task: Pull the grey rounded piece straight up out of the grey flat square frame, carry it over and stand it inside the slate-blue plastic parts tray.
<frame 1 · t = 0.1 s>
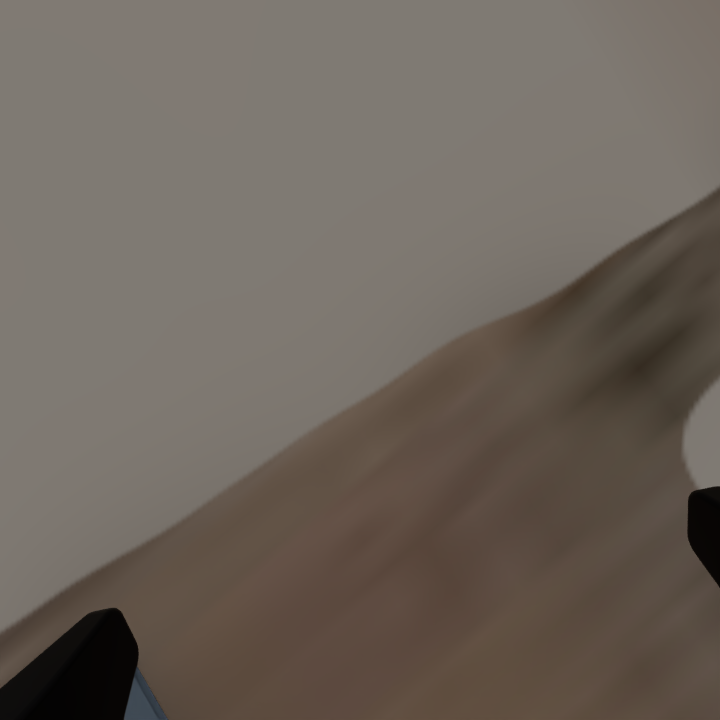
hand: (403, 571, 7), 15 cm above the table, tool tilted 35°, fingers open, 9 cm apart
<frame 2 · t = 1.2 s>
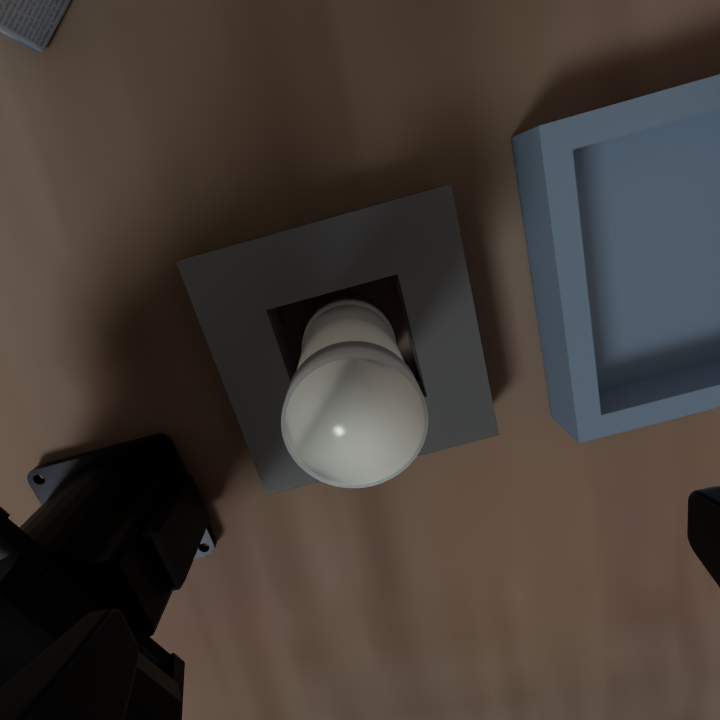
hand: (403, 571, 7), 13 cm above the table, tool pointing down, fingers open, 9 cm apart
grey flat square frame: (348, 340, 19), on the table
parts tray: (651, 258, 19), on the table
grey rounded piece: (351, 372, 16), in the grey flat square frame
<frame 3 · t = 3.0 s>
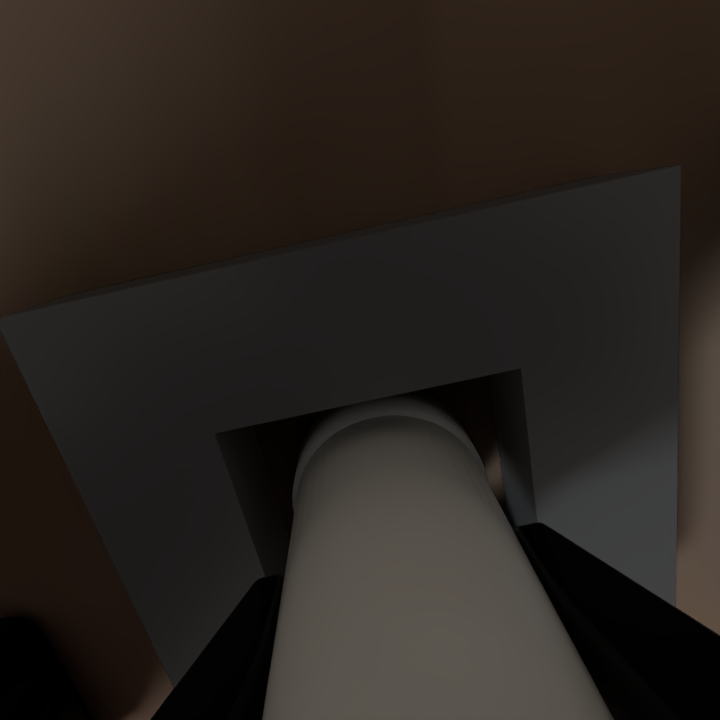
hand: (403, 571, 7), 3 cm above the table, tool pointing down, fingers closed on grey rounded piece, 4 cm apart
grey flat square frame: (384, 467, 10), on the table
grey rounded piece: (411, 625, 6), in the grey flat square frame, touching gripper
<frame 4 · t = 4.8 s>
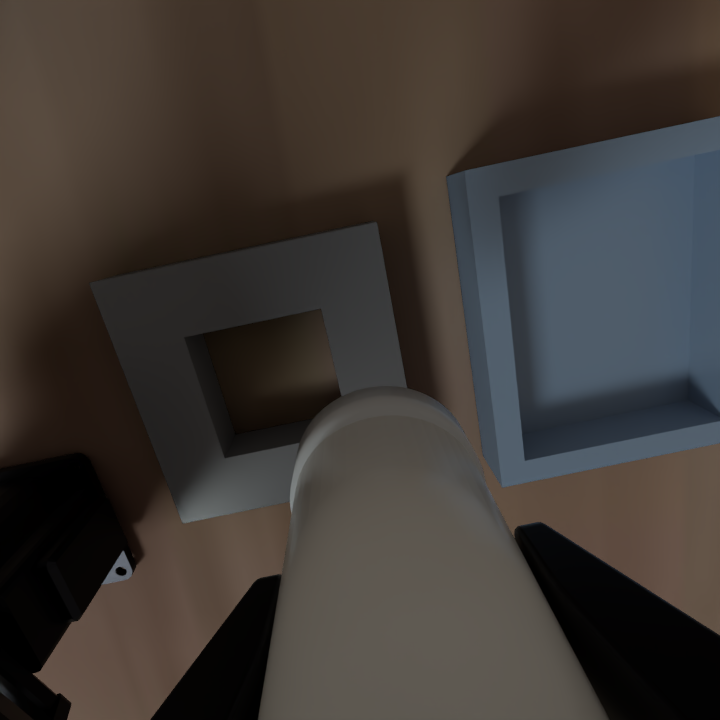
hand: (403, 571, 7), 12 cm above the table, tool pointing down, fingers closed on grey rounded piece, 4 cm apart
grey flat square frame: (277, 369, 19), on the table
parts tray: (585, 305, 19), on the table
grey rounded piece: (408, 625, 6), point 13 cm above the table, touching gripper
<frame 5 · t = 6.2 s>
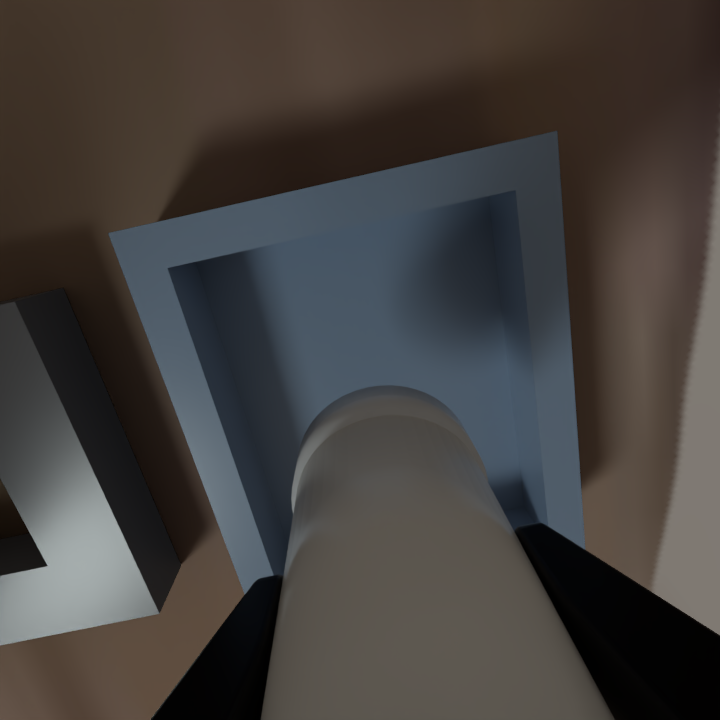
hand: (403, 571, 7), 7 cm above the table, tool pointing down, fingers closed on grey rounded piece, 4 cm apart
parts tray: (375, 389, 14), on the table
grey rounded piece: (411, 626, 6), point 8 cm above the table, touching gripper
when the fingers open (5 cm above the table, at t = 6.9 s): grey rounded piece drops 1 cm, resting on parts tray.
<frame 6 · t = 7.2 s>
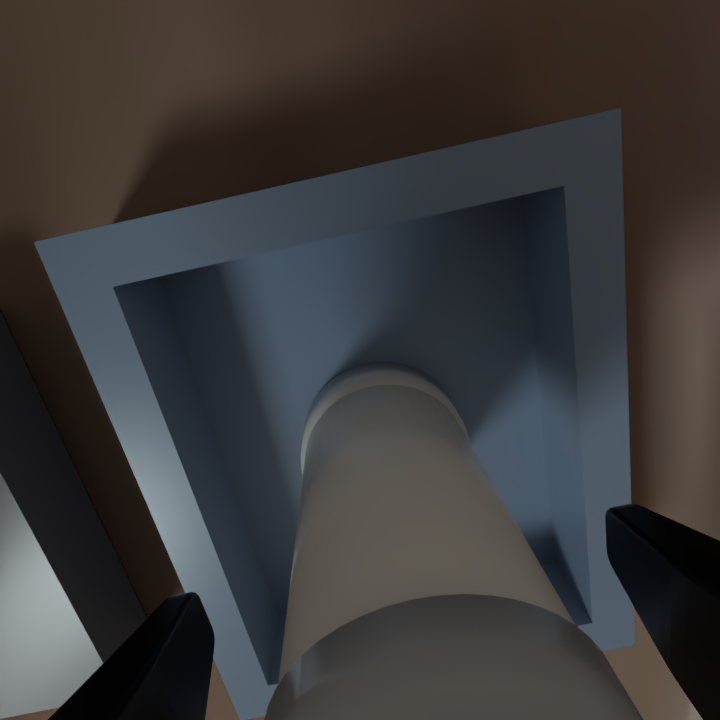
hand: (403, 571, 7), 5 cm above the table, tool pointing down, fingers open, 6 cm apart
parts tray: (379, 426, 12), on the table
grey rounded piece: (404, 548, 8), in the parts tray
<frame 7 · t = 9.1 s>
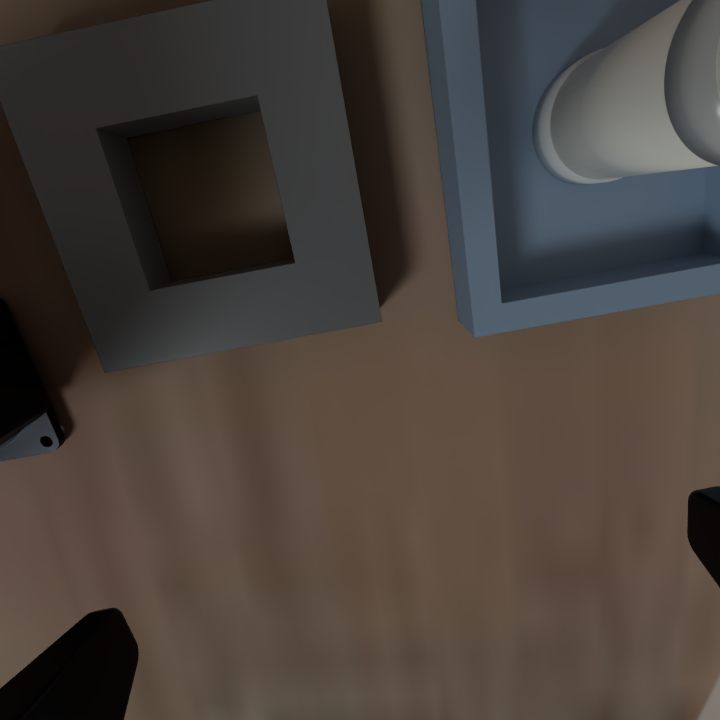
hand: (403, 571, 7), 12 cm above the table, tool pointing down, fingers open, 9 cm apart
grey flat square frame: (217, 200, 16), on the table
parts tray: (582, 128, 16), on the table
grey rounded piece: (667, 96, 11), in the parts tray
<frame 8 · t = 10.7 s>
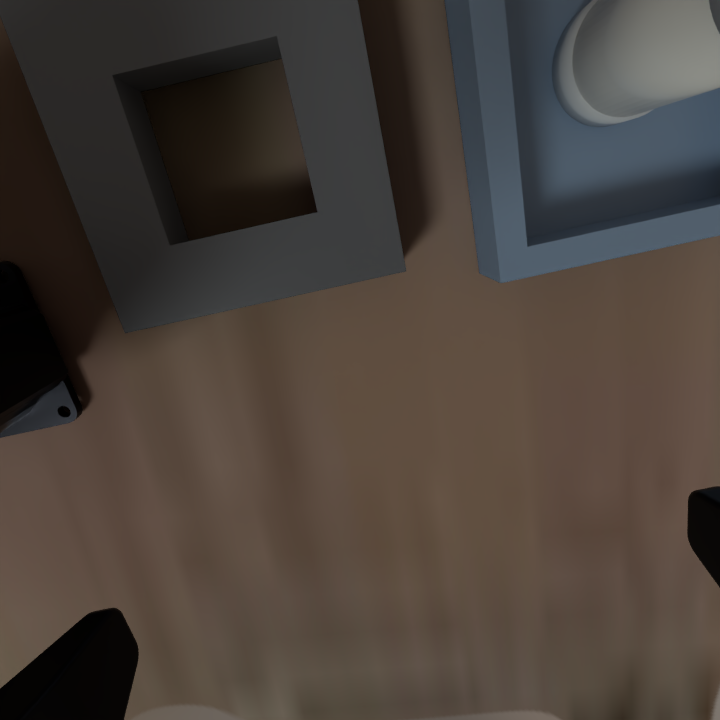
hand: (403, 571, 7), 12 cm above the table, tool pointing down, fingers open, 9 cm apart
grey flat square frame: (234, 154, 16), on the table
parts tray: (600, 69, 16), on the table
grey rounded piece: (697, 15, 11), in the parts tray
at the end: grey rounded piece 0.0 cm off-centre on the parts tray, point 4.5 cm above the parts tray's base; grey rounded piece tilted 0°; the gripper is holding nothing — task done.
